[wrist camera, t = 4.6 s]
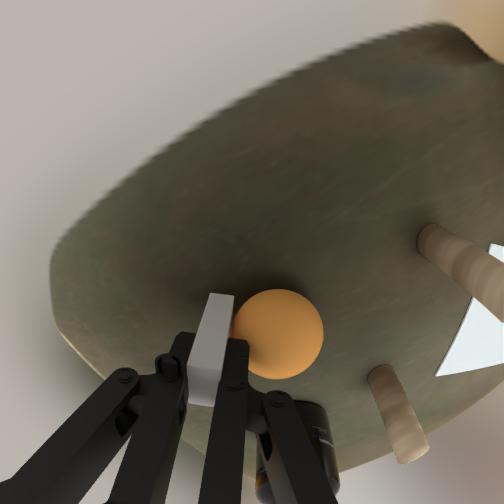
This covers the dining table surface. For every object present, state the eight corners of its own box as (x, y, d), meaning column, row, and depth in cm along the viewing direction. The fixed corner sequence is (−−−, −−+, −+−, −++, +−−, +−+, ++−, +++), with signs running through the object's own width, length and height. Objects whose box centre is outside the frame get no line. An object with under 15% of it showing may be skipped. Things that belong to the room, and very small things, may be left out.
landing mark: (550, 258, 17) (551, 259, 17) (505, 361, 22) (506, 361, 22) (490, 242, 17) (491, 243, 17) (434, 375, 22) (435, 376, 22)
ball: (241, 268, 18) (325, 279, 18) (233, 336, 20) (307, 344, 20) (229, 315, 13) (342, 328, 13) (222, 391, 15) (315, 400, 15)
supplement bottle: (340, 404, 23) (365, 514, 11) (307, 440, 25) (318, 535, 14) (272, 392, 22) (276, 520, 11) (247, 431, 24) (242, 535, 13)
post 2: (447, 226, 17) (533, 277, 8) (438, 258, 17) (515, 321, 9) (422, 221, 17) (511, 274, 8) (413, 255, 17) (491, 323, 9)
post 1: (397, 364, 21) (435, 441, 12) (386, 383, 22) (418, 459, 13) (373, 365, 21) (408, 449, 12) (363, 385, 22) (391, 466, 13)
